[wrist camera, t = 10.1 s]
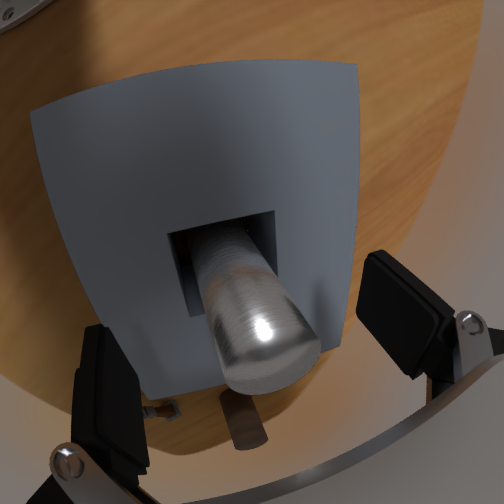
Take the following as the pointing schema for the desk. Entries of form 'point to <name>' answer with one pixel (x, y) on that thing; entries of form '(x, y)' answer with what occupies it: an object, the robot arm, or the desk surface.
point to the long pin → (249, 311)
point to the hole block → (204, 197)
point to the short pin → (242, 420)
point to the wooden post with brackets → (162, 411)
